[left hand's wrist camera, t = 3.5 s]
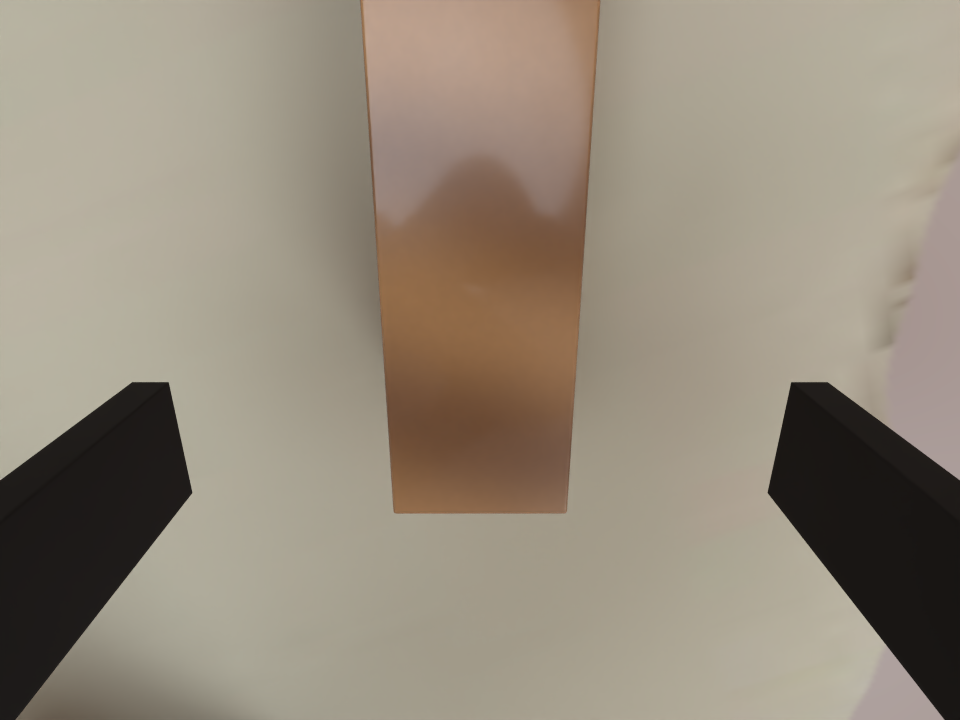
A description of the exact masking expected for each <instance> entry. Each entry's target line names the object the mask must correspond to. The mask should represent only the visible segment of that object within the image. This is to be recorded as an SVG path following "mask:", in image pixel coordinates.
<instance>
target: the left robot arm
mask: <svg viewBox="0 0 960 720" xmlns="http://www.w3.org/2000/svg"><path fill="white" fill-rule="evenodd" d="M191 494H192V489H191V484H190V480H189V475H188V470H187V466H186V461H185V456H184V452H183V447H182V442H181V438H180V433H179V428H178V424H177V419H176V414H175V410H174V405H173V400H172V396H171V391H170V386H169V382H132V383H131V384H129V385H128V386H127V387H125V388H124V389H123V390H121V391H120V392H119V393H117V394H116V395H115V396H113V397H112V398H111V399H109V400H108V401H106V402H105V403H104V404H102V405H101V406H100V407H98V408H97V409H96V410H94V411H93V412H92V413H90V414H89V415H88V416H86V417H85V418H84V419H82V420H81V421H80V422H78V423H77V424H76V425H74V426H73V427H72V428H70V429H69V430H67V431H66V432H65V433H63V434H62V435H61V436H59V437H58V438H57V439H55V440H54V441H53V442H51V443H50V444H49V445H47V446H46V447H45V448H43V449H42V450H41V451H39V452H38V453H37V454H35V455H34V456H32V457H31V458H30V459H28V460H27V461H26V462H24V463H23V464H22V465H20V466H19V467H18V468H16V469H15V470H14V471H12V472H11V473H10V474H8V475H7V476H6V477H4V478H3V479H2V480H0V720H16V718H17V717H18V716H19V714H20V713H21V712H22V711H23V709H24V708H25V707H26V705H27V704H28V703H29V702H30V700H31V699H32V698H33V696H34V695H35V694H36V693H37V691H38V690H39V689H40V688H41V686H42V685H43V684H44V682H45V681H46V680H47V679H48V677H49V676H50V675H51V673H52V672H53V671H54V670H55V668H56V667H57V666H58V664H59V663H60V662H61V661H62V659H63V658H64V657H65V655H66V654H67V653H68V652H69V650H70V649H71V648H72V646H73V645H74V644H75V643H76V641H77V640H78V639H79V638H80V636H81V635H82V634H83V632H84V631H85V630H86V629H87V627H88V626H89V625H90V623H91V622H92V621H93V620H94V618H95V617H96V616H97V614H98V613H99V612H100V611H101V609H102V608H103V607H104V605H105V604H106V603H107V602H108V600H109V599H110V598H111V596H112V595H113V594H114V593H115V591H116V590H117V589H118V588H119V586H120V585H121V584H122V582H123V581H124V580H125V579H126V577H127V576H128V575H129V573H130V572H131V571H132V570H133V568H134V567H135V566H136V564H137V563H138V562H139V561H140V559H141V558H142V557H143V555H144V554H145V553H146V552H147V550H148V549H149V548H150V546H151V545H152V544H153V543H154V541H155V540H156V539H157V538H158V536H159V535H160V534H161V532H162V531H163V530H164V529H165V527H166V526H167V525H168V523H169V522H170V521H171V520H172V518H173V517H174V516H175V514H176V513H177V512H178V511H179V509H180V508H181V507H182V505H183V504H184V503H185V502H186V500H187V499H188V498H189V496H190V495H191ZM768 494H769V495H770V496H771V498H772V499H773V500H774V502H775V503H776V504H777V505H778V507H779V508H780V509H781V511H782V512H783V513H784V514H785V516H786V517H787V518H788V520H789V521H790V522H791V523H792V525H793V526H794V527H795V529H796V530H797V531H798V532H799V534H800V535H801V536H802V538H803V539H804V540H805V541H806V543H807V544H808V545H809V546H810V548H811V549H812V550H813V552H814V553H815V554H816V555H817V557H818V558H819V559H820V561H821V562H822V563H823V564H824V566H825V567H826V568H827V570H828V571H829V572H830V573H831V575H832V576H833V577H834V579H835V580H836V581H837V582H838V584H839V585H840V586H841V588H842V589H843V590H844V591H845V593H846V594H847V595H848V596H849V598H850V599H851V600H852V602H853V603H854V604H855V605H856V607H857V608H858V609H859V611H860V612H861V613H862V614H863V616H864V617H865V618H866V620H867V621H868V622H869V623H870V625H871V626H872V627H873V629H874V630H875V631H876V632H877V634H878V635H879V636H880V638H881V639H882V640H883V641H884V643H885V644H886V645H887V646H888V648H889V649H890V650H891V652H892V653H893V654H894V655H895V657H896V658H897V659H898V661H899V662H900V663H901V664H902V666H903V667H904V668H905V670H906V671H907V672H908V673H909V675H910V676H911V677H912V678H913V680H914V681H915V682H916V684H917V685H918V686H919V687H920V689H921V690H922V691H923V693H924V694H925V695H926V696H927V698H928V699H929V700H930V702H931V703H932V704H933V705H934V707H935V708H936V709H937V711H938V712H939V713H940V714H941V716H942V717H943V718H944V720H960V480H958V479H957V478H956V477H954V476H953V475H952V474H950V473H949V472H948V471H946V470H945V469H944V468H942V467H941V466H940V465H938V464H937V463H936V462H934V461H933V460H932V459H930V458H929V457H927V456H926V455H925V454H923V453H922V452H921V451H919V450H918V449H917V448H915V447H914V446H913V445H911V444H910V443H909V442H907V441H906V440H905V439H903V438H902V437H901V436H899V435H898V434H897V433H895V432H894V431H893V430H891V429H890V428H888V427H887V426H886V425H884V424H883V423H882V422H880V421H879V420H878V419H876V418H875V417H874V416H872V415H871V414H870V413H868V412H867V411H866V410H864V409H863V408H862V407H860V406H859V405H858V404H856V403H855V402H854V401H852V400H851V399H849V398H848V397H847V396H845V395H844V394H843V393H841V392H840V391H839V390H837V389H836V388H835V387H833V386H832V385H831V384H829V383H828V382H791V386H790V391H789V396H788V400H787V405H786V410H785V414H784V419H783V424H782V428H781V433H780V438H779V442H778V447H777V452H776V456H775V461H774V466H773V470H772V475H771V480H770V484H769V489H768Z"/></svg>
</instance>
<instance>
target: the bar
mask: <svg viewBox="0 0 960 720" xmlns="http://www.w3.org/2000/svg"><path fill="white" fill-rule="evenodd" d="M360 4H361V19H362V34H363V50H364V65H365V80H366V96H367V111H368V126H369V142H370V157H371V172H372V188H373V203H374V218H375V234H376V249H377V264H378V280H379V295H380V310H381V326H382V341H383V356H384V372H385V387H386V402H387V417H388V433H389V448H390V463H391V479H392V494H393V509H394V513H566V512H567V502H568V486H569V471H570V456H571V441H572V425H573V410H574V395H575V380H576V364H577V349H578V334H579V319H580V303H581V288H582V273H583V258H584V242H585V227H586V212H587V197H588V181H589V166H590V151H591V136H592V120H593V105H594V90H595V75H596V59H597V44H598V29H599V14H600V0H360Z"/></svg>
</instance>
